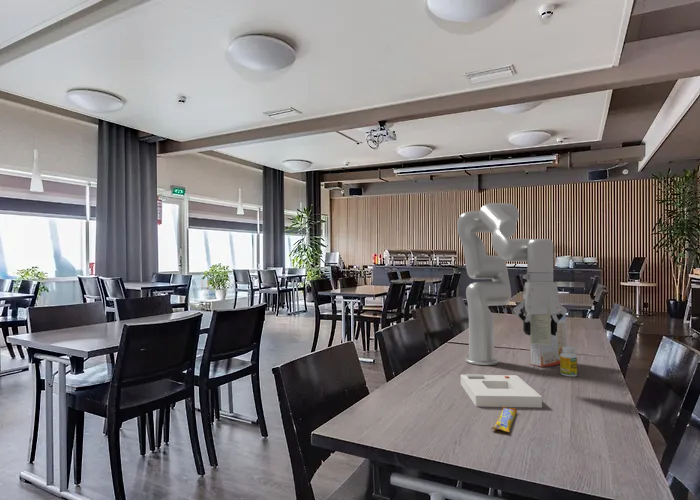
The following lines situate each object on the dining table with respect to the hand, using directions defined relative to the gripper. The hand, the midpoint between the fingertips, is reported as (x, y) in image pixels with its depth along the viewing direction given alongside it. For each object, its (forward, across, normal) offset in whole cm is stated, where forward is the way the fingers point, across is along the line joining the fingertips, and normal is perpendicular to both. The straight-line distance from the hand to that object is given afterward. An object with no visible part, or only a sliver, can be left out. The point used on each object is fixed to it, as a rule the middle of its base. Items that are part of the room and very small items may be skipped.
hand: (540, 334), depth 140 cm
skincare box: (+3, 0, 0) cm, 3 cm away
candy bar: (+18, -19, -29) cm, 39 cm away
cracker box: (+18, +15, +34) cm, 41 cm away
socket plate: (+17, -15, -6) cm, 24 cm away
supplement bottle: (+18, +16, +18) cm, 30 cm away
